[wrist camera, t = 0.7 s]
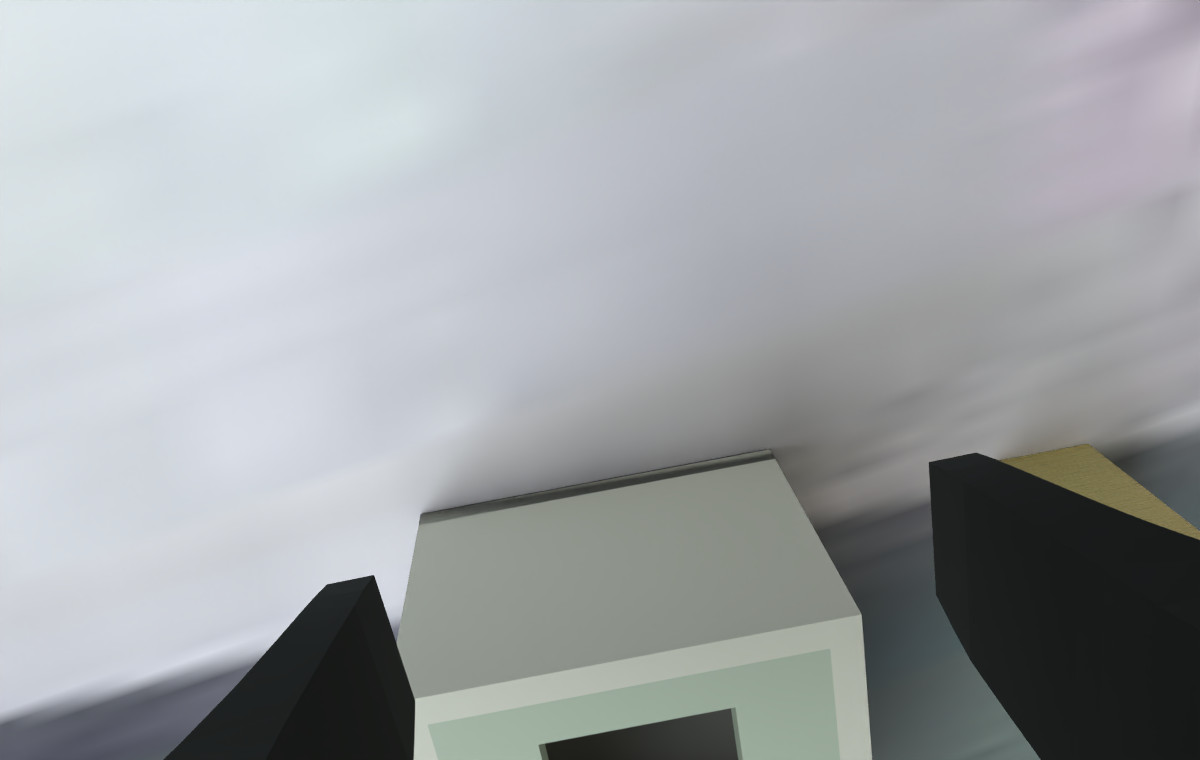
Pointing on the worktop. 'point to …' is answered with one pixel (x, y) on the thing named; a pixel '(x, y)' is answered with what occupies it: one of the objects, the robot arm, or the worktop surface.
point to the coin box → (635, 624)
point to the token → (1101, 484)
